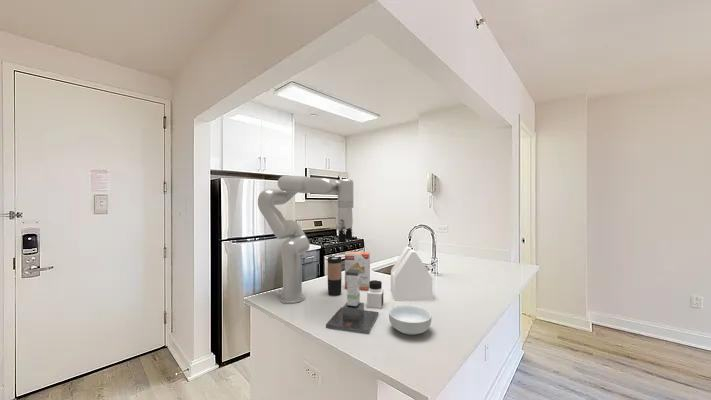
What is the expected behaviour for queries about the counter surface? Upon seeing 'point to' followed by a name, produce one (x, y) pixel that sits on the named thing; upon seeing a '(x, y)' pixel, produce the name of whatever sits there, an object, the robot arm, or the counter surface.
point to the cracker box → (359, 267)
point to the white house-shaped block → (410, 278)
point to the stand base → (353, 319)
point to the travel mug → (334, 276)
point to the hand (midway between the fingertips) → (345, 240)
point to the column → (353, 287)
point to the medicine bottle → (375, 294)
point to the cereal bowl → (410, 319)
